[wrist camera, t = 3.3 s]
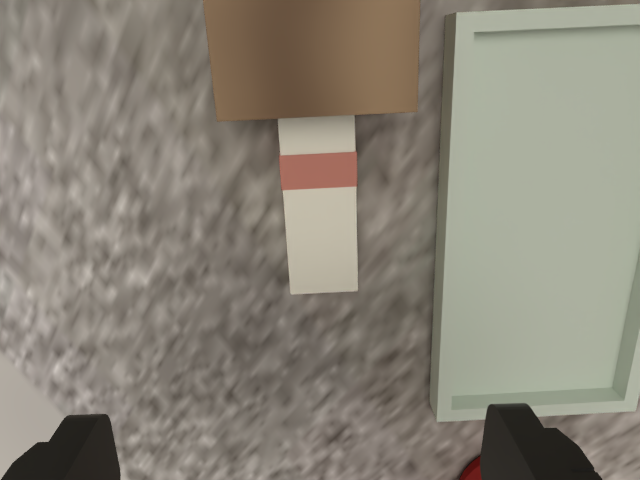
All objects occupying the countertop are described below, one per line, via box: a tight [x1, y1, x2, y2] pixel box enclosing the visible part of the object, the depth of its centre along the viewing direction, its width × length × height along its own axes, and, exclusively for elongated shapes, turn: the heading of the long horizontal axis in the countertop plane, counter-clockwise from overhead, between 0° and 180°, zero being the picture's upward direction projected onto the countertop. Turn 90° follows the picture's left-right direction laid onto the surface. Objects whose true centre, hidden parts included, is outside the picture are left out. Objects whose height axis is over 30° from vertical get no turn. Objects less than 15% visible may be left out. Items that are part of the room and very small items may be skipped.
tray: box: [429, 4, 640, 422], centre depth 26 cm, size 12×22×2 cm, turn 3°
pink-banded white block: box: [278, 115, 358, 295], centre depth 22 cm, size 3×14×5 cm, turn 3°
